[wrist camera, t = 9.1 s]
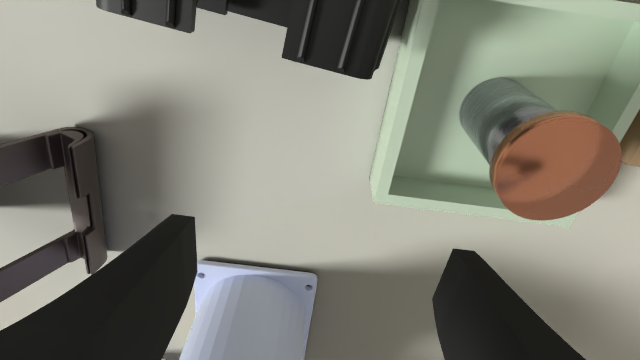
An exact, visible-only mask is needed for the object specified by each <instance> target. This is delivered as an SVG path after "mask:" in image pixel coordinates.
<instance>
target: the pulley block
mask: <svg viewBox="0 0 640 360" xmlns="http://www.w3.org/2000/svg"><path fill="white" fill-rule="evenodd" d="M619 144H620V147H621V154H622V158H621V161H623V162H624V163H625V164H627V165H632V166H639V167H640V109H639V111H638V113H637V114H636V116H635V118H634V120H633V121H632V123H631V125H630V126H629V128H628V130H627V131H626V133H625V135H624V136H623V138H622V140H621V142H620V143H619Z"/></svg>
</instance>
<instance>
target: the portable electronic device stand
mask: <svg viewBox="0 0 640 360" xmlns="http://www.w3.org/2000/svg"><path fill="white" fill-rule="evenodd" d="M62 166H64V169H65V175H66V180H67V186H68V192H69V198H70V204H71V210H72V216H73V222H74V230H73V231H71V232H69V233H67V234H65V235H63V236H61V237H59V238H57V239H56V240H54V241H52V242H50V243H48V244H46V245H44V246H42V247H40V248H38V249H36V250H34V251H33V252H31V253H29V254H27V255H25V256H23V257H21V258H19V259H17V260H15V261H13V262H11V263H9V264H8V265H6V266H4V267H2V268H0V302H2V301H3V300H5V299H7V298H9V297H10V296H12V295H14V294H15V293H17V292H19V291H20V290H22V289H24V288H26V287H27V286H29V285H31V284H32V283H34V282H36V281H37V280H39V279H41V278H43V277H44V276H46V275H48V274H49V273H51V272H53V271H55V270H56V269H58V268H60V267H61V266H63V265H65V264H66V263H68V262H73V261H75V260H77V259H79V258H83V259H85V264H86V270H87V273H88V274H92V275H93V274H94V273H95V272H96V271H97V270H98V269H99V268H100V267H101V266H102V265H103V264H104V263H105V262H106V260H107V249H106V241H105V232H104V223H103V215H102V206H101V197H100V189H99V180H98V172H97V163H96V155H95V146H94V137H93V133H92V132H91V131H90V130H88V129H85V128H80V127H65V128H60V129H56V130H52V131H49V132H45V133H42V134H38V135H34V136H31V137H27V138H24V139H20V140H17V141H13V142H9V143H6V144H2V145H0V187H1V186H3V185H6V184H9V183H12V182H14V181H17V180H20V179H23V178H25V177H28V176H31V175H34V174H36V173H39V172H42V171H45V170H48V169H50V168H51V169H56V168H59V167H62Z"/></svg>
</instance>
